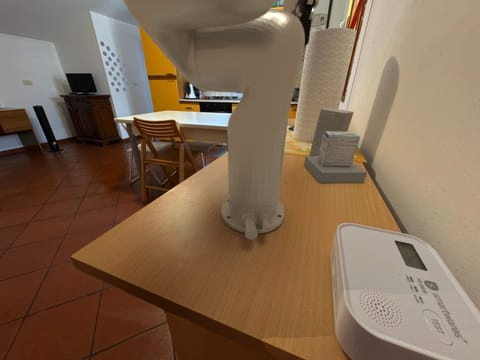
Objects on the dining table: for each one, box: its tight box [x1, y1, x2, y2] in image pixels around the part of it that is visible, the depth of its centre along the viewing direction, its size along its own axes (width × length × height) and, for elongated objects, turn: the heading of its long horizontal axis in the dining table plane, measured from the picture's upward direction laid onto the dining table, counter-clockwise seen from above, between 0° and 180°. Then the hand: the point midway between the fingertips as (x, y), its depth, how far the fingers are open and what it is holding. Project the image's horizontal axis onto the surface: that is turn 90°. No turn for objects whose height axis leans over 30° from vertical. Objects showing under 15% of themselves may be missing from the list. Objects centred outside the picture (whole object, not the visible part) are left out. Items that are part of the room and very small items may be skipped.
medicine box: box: [318, 131, 361, 167], centre depth 53 cm, size 8×4×9 cm, turn 87°
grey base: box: [303, 155, 368, 184], centre depth 56 cm, size 12×12×3 cm
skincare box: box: [309, 107, 355, 156], centre depth 65 cm, size 8×7×16 cm
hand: (292, 47), depth 43 cm, fingers open, 9 cm apart
